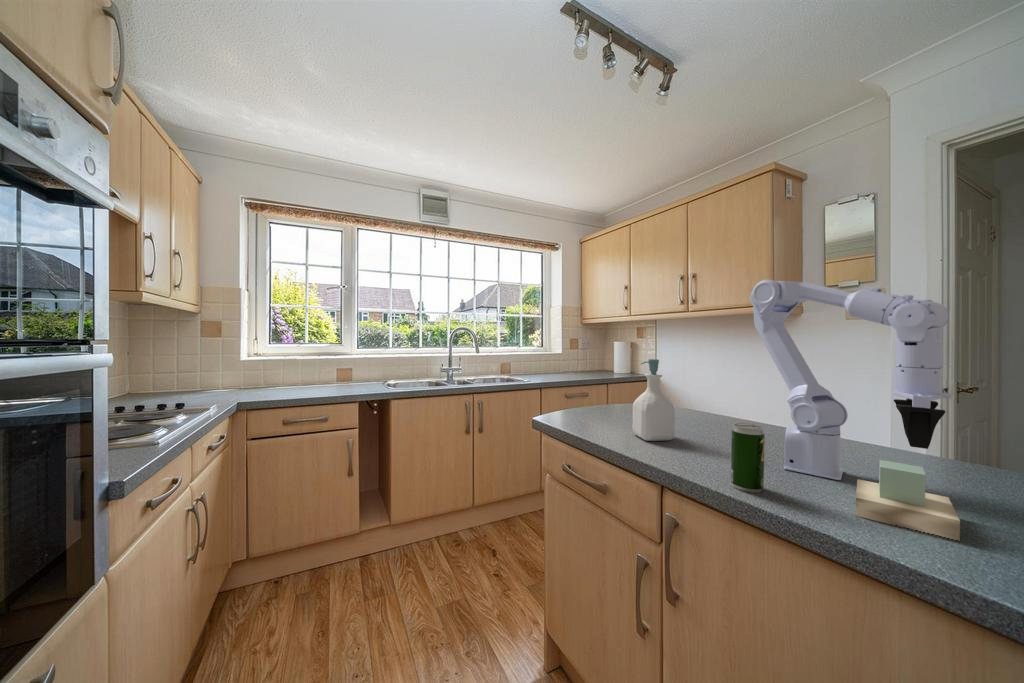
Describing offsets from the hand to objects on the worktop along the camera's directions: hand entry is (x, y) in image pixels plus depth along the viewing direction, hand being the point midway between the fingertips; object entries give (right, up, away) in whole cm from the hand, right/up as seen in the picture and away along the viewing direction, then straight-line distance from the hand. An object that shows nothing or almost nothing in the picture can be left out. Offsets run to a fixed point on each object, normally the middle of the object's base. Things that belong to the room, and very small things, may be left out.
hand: (916, 442), depth 67 cm
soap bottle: (-32, -10, +41) cm, 53 cm away
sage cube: (-9, -7, -6) cm, 13 cm away
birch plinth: (-8, -10, -6) cm, 15 cm away
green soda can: (-27, -10, +5) cm, 30 cm away
